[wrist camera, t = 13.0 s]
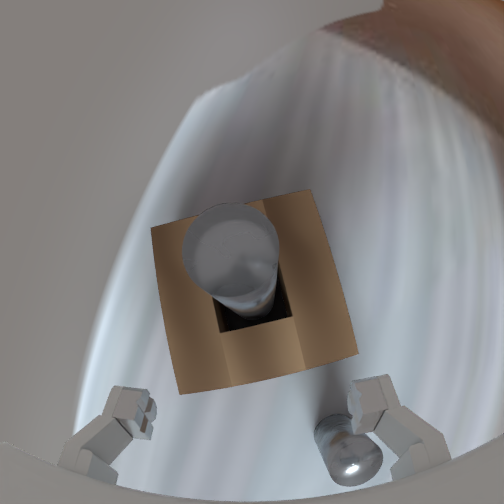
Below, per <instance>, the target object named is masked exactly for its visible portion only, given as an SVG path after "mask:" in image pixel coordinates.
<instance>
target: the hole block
mask: <svg viewBox="0 0 504 504" xmlns="http://www.w3.org/2000/svg"><path fill="white" fill-rule="evenodd" d="M245 205H248V206H251V207H253V208H256V209H257V210H259V211H260V212H262V213H263V214H264V215H265V216H266V217H267V218H268V219H269V220H270V221H271V223H272V224H273V226H274V228H275V230H276V232H277V235H278V240H279V259H278V269H277V278H278V282H279V286H280V290H281V293H282V297H283V301H284V305H285V309H286V313H287V317H288V318H284V319H280V320H276V321H272V322H268V323H264V324H260V325H255V326H251V327H247V328H242V329H238V330H233V331H229V326H228V322H227V317H226V313H225V308H224V304H222V303H221V302H219V301H218V300H217V299H215V298H214V297H212V296H211V295H210V294H208V293H207V292H205V291H204V290H203V289H201V288H200V287H199V286H197V285H196V284H195V283H194V282H193V281H192V279H191V278H190V277H189V275H188V273H187V271H186V269H185V266H184V263H183V259H182V245H183V240H184V237H185V234H186V232H187V230H188V228H189V227H190V225H191V224H192V222H193V221H194V220H195V219H196V218H197V217H198V216H199V215H197V216H193V217H189V218H185V219H181V220H178V221H174V222H170V223H167V224H163V225H159V226H156V227H152V228H151V236H152V245H153V253H154V261H155V268H156V276H157V283H158V289H159V296H160V302H161V308H162V314H163V319H164V325H165V330H166V335H167V340H168V345H169V350H170V355H171V360H172V364H173V369H174V373H175V377H176V382H177V386H178V390H179V394H180V395H182V394H190V393H197V392H204V391H210V390H216V389H222V388H228V387H233V386H238V385H243V384H248V383H253V382H258V381H263V380H267V379H271V378H276V377H280V376H284V375H288V374H292V373H296V372H300V371H304V370H307V369H311V368H315V367H318V366H322V365H325V364H328V363H332V362H335V361H338V360H342V359H345V358H348V357H351V356H354V355H357V354H359V353H358V349H357V344H356V340H355V336H354V332H353V328H352V324H351V320H350V316H349V313H348V309H347V305H346V302H345V298H344V294H343V291H342V287H341V284H340V280H339V277H338V273H337V270H336V267H335V263H334V260H333V257H332V253H331V250H330V247H329V244H328V241H327V237H326V234H325V231H324V228H323V225H322V222H321V219H320V216H319V213H318V210H317V207H316V204H315V202H314V199H313V196H312V193H311V190H310V189H308V190H304V191H299V192H294V193H289V194H285V195H280V196H276V197H271V198H267V199H262V200H258V201H254V202H249V203H245Z"/></svg>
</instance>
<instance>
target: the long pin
mask: <svg viewBox="0 0 504 504" xmlns="http://www.w3.org/2000/svg"><path fill="white" fill-rule="evenodd" d="M182 259H183V263H184V266H185V269H186V271H187V273H188V275H189V277H190V278H191V279H192V281H193V282H194V283H195V284H196V285H197V286H199V287H200V288H201V289H203V290H204V291H205V292H207V293H208V294H210V295H211V296H212V297H214V298H215V299H217V300H218V301H219V302H221V303H222V304H224V305H225V306H226V307H228V308H229V309H231V310H232V311H234V312H235V313H237V314H238V315H239V316H241V317H243V318H245V319H248V320H258V319H261V318H263V317H265V316H266V315H267V314H268V313H269V312H270V311H271V309H272V307H273V305H274V298H275V289H276V279H277V269H278V259H279V240H278V235H277V232H276V230H275V228H274V226H273V224H272V223H271V221H270V220H269V219H268V218H267V217H266V216H265V215H264V214H263V213H262V212H260V211H259V210H257V209H256V208H253V207H251V206H248V205H245V204H240V203H225V204H220V205H217V206H214V207H211V208H209V209H208V210H206V211H204V212H203V213H201V214H200V215H199V216H198V217H197V218H196V219H195V220H194V221H193V222H192V224H191V225H190V227H189V228H188V230H187V232H186V234H185V237H184V240H183V245H182Z"/></svg>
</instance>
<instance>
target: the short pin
mask: <svg viewBox="0 0 504 504" xmlns="http://www.w3.org/2000/svg"><path fill="white" fill-rule="evenodd" d="M314 439H315V442H316V444H317V446H318V449H319V451H320V453H321V456H322V458H323V460H324V462H325V465H326V467H327V469H328V471H329V474H330V476H331V478H332V479H333V481H335V482H336V483H337V484H339V485H342V486H349V487H350V486H357V485H360V484H363V483H365V482H367V481H368V480H370V479H371V478H372V477H374V476H375V475H376V473H377V472H378V471H379V469H380V467H381V465H382V461H383V454H382V451H381V449H380V448H379V446H378V445H377V444H375V443H374V442H373V441H372V440H371V439H370V438H369V437H368V436H367V435H366V434H365V433H362V434H356V435H354V433H353V429H352V424H351V419H350V418H348V417H347V416H344V415H331V416H328V417H326V418H325V419H323V420H322V421H321V422H320V423H319V424H318V425H317V427H316V429H315V432H314Z"/></svg>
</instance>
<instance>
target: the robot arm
mask: <svg viewBox="0 0 504 504" xmlns="http://www.w3.org/2000/svg"><path fill="white" fill-rule="evenodd" d="M350 388H351V390H350V391H349V392H348V395H347V406H348V411H349V413H350V414H351V415H352V416H353V417H352V420H351V424H352V429H353V433H354V435H356V434H362V433H367V432H373V431H374V433H375V434H376V435H377V436H378V437H379V438H380V439H381V440H382V441H383V442H384V443H385V444H386V445H387V446H388V447H389V448H390V449H391V450H392V451H393V452H394V453H395V454H396V455H397V456H398V457H399V458H400V459H399V460H398V461H397V462H396V463H395V464H394V465H393V466H392V467H391V469H390V470H391V475H392V479H393V481H391V482H387V483H384V484H380V485H376V486H372V487H368V488H364V489H359V490H355V491H350V492H345V493H339V494H333V495H327V496H320V497H313V498H304V499H294V500H281V501H258V502H236V501H213V500H200V499H190V498H181V497H174V496H167V495H161V494H155V493H150V492H144V491H140V490H135V489H131V488H126V487H122V486H118V485H116V482H117V478H118V473H117V471H116V470H114V469H113V468H112V467H110V466H109V465H110V464H111V463H112V462H113V461H114V460H115V459H116V458H117V456H118V455H119V454H120V453H121V452H122V451H123V450H124V449H125V448H126V447H127V446H128V444H129V443H130V442H131V441H132V440H133V438H136V439H144V440H151V436H152V432H153V426H152V424H151V423H152V422H153V421H154V420H155V419H156V415H157V406H156V403H155V401H154V399H152V398H151V397H149V395H150V393H149V391H148V390H147V389H140V388H131V387H123V386H114V387H113V388H112V389H111V391H110V394H109V397H108V399H107V402H106V405H105V408H104V410H103V413H102V415H98V416H97V417H96V418H95V419H94V420H92V421H91V422H90V423H89V424H87V425H86V426H85V427H84V428H82V429H81V430H80V431H79V432H78V433H76V434H75V435H74V436H73V437H71V438H70V439H69V440H68V441H66V442H65V445H64V448H63V450H62V453H61V456H60V459H59V462H58V464H57V465H55V464H52V463H50V462H47V461H45V460H43V459H41V458H38V457H36V456H34V455H32V454H30V453H27V452H25V451H24V450H22V449H20V448H18V447H16V446H14V445H12V444H10V443H7V442H2V443H0V504H504V433H503V434H501V435H499V436H498V437H496V438H494V439H492V440H490V441H489V442H487V443H485V444H483V445H481V446H479V447H477V448H475V449H473V450H471V451H469V452H467V453H465V454H463V455H461V456H459V457H456V458H454V459H451V456H450V453H449V450H448V447H447V444H446V442H445V439H444V436H443V434H442V433H441V432H439V431H438V430H437V429H435V428H434V427H432V426H431V425H430V424H428V423H427V422H426V421H424V420H423V419H422V418H420V417H419V416H417V415H416V414H415V413H413V412H412V411H411V410H409V409H408V408H407V407H405V406H401V405H400V402H399V400H398V397H397V394H396V392H395V389H394V386H393V384H392V381H391V378H390V376H389V375H388V374H385V375H381V376H376V377H375V376H374V377H369V378H364V379H359V380H354V381H352V382H351V384H350Z"/></svg>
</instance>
